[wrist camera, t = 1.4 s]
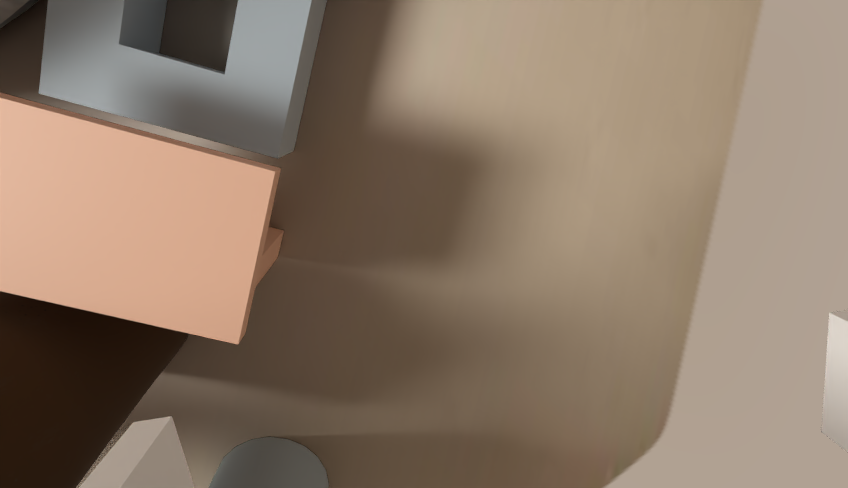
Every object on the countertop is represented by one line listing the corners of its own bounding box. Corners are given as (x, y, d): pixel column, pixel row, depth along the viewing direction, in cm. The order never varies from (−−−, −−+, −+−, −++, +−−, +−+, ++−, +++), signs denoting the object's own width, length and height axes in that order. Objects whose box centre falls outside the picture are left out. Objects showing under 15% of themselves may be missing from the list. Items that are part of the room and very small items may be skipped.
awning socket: (53, 201, 34) (-146, 258, 22) (91, -140, 30) (-136, -324, 17) (291, 260, 36) (238, 344, 24) (363, -50, 32) (344, -154, 19)
